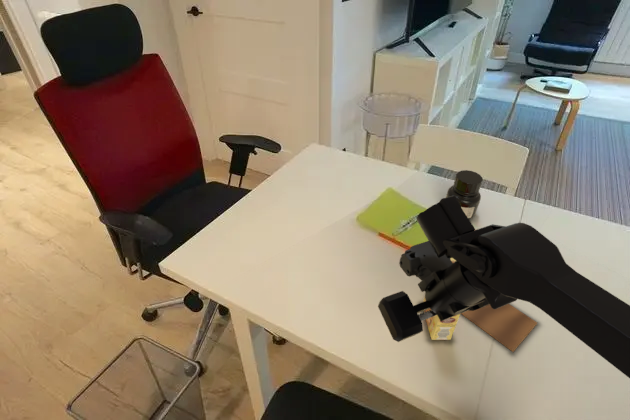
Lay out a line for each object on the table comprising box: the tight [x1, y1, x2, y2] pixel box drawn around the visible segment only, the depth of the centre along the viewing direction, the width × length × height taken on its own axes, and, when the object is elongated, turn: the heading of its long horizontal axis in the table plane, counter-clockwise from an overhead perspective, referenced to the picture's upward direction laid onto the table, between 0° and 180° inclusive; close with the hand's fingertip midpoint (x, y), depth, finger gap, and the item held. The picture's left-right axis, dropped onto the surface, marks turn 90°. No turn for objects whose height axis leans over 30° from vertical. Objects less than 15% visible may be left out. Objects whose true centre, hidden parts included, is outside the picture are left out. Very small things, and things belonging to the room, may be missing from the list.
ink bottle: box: [445, 169, 484, 220], centre depth 103 cm, size 10×9×12 cm
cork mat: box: [460, 303, 538, 353], centre depth 80 cm, size 16×10×1 cm, turn 40°
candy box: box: [422, 258, 461, 341], centre depth 74 cm, size 9×4×15 cm, turn 1°
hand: (419, 315), depth 63 cm, fingers open, 9 cm apart
